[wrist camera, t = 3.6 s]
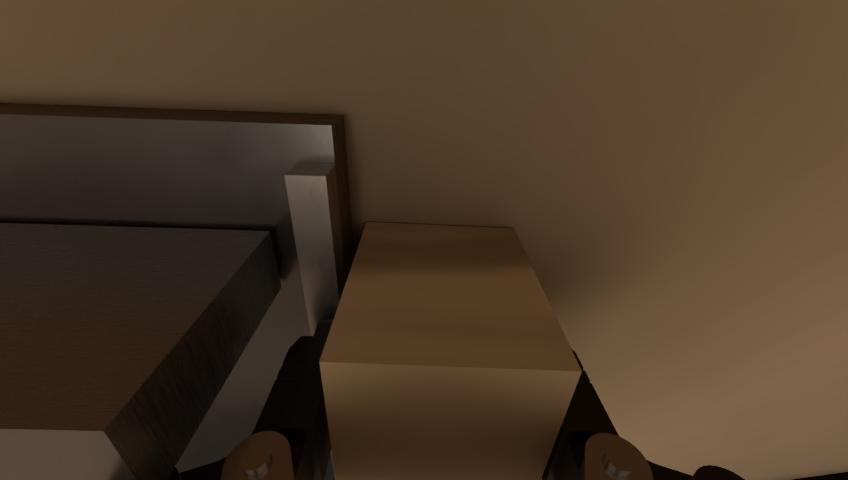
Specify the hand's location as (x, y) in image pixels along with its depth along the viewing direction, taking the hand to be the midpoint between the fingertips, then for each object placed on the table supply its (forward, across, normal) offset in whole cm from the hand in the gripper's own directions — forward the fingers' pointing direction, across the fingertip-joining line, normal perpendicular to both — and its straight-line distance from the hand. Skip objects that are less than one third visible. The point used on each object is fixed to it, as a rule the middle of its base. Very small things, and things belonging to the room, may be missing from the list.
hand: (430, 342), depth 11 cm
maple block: (+2, 0, 0) cm, 3 cm away
